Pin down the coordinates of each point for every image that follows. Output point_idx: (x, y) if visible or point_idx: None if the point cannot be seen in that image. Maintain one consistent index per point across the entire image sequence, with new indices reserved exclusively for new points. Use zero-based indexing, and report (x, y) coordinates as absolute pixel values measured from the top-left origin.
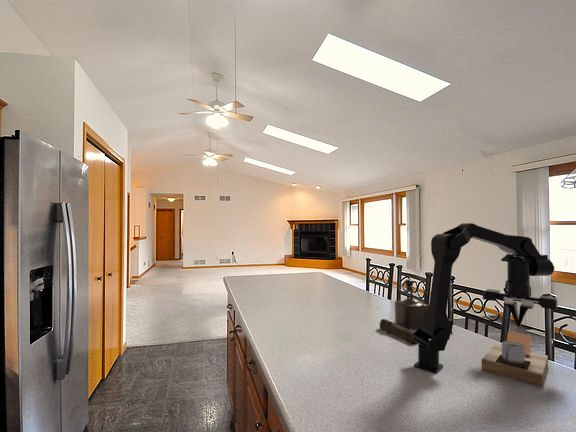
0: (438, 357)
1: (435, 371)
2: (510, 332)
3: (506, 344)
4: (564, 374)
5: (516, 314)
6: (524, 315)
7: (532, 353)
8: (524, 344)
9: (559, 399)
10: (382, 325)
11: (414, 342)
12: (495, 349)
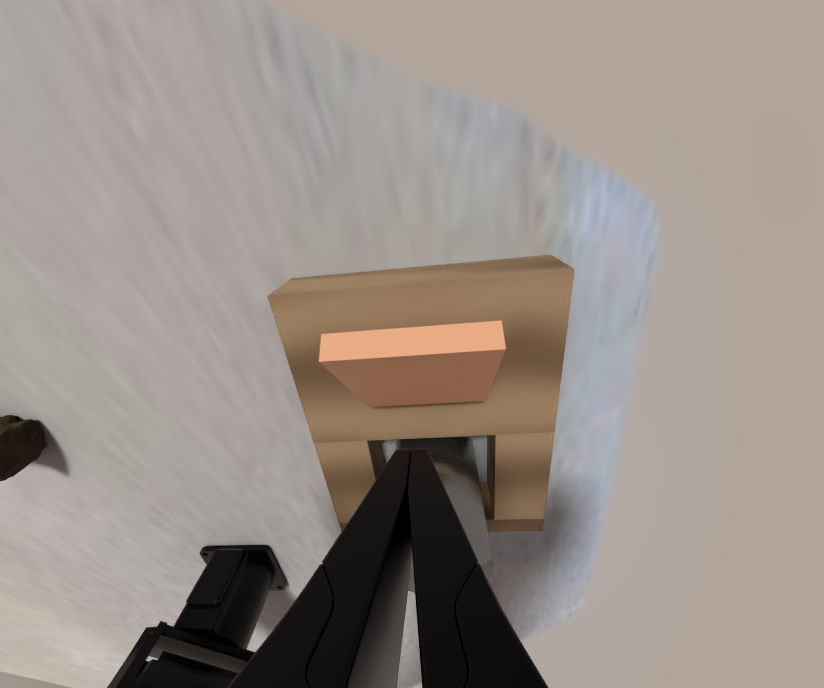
0: (257, 609)
1: (283, 589)
2: (341, 363)
3: (411, 583)
4: (617, 320)
5: (396, 686)
6: (485, 590)
7: (488, 299)
8: (458, 385)
9: (572, 533)
10: None
11: (39, 447)
12: (320, 390)
